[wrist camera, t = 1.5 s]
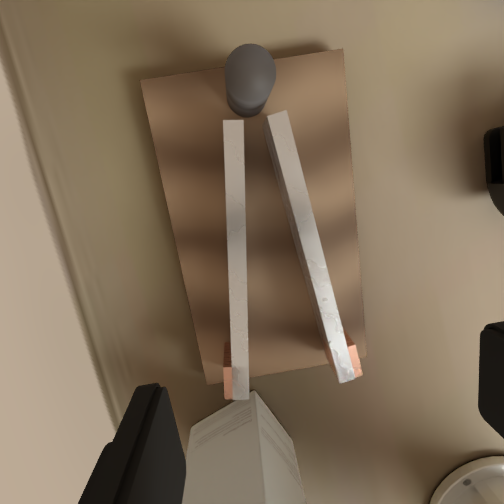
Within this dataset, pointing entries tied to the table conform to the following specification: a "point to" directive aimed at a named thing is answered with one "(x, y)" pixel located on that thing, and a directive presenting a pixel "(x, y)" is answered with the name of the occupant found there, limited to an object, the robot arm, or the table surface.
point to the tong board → (259, 201)
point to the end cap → (495, 165)
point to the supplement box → (242, 458)
